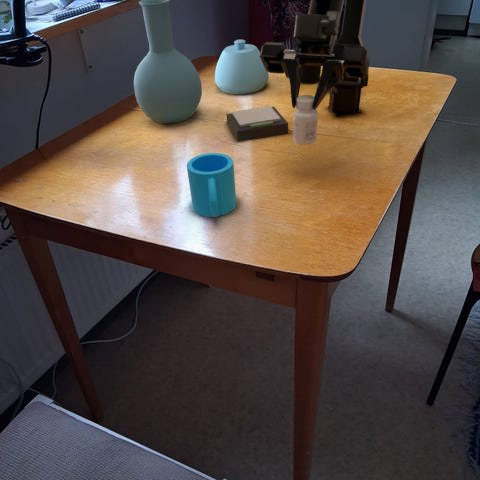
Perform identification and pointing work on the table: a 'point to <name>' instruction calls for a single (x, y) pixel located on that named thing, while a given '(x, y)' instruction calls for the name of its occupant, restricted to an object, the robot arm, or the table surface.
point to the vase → (165, 71)
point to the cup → (310, 73)
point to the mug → (212, 184)
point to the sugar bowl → (240, 69)
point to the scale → (256, 123)
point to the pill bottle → (305, 121)
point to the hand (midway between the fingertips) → (303, 107)
